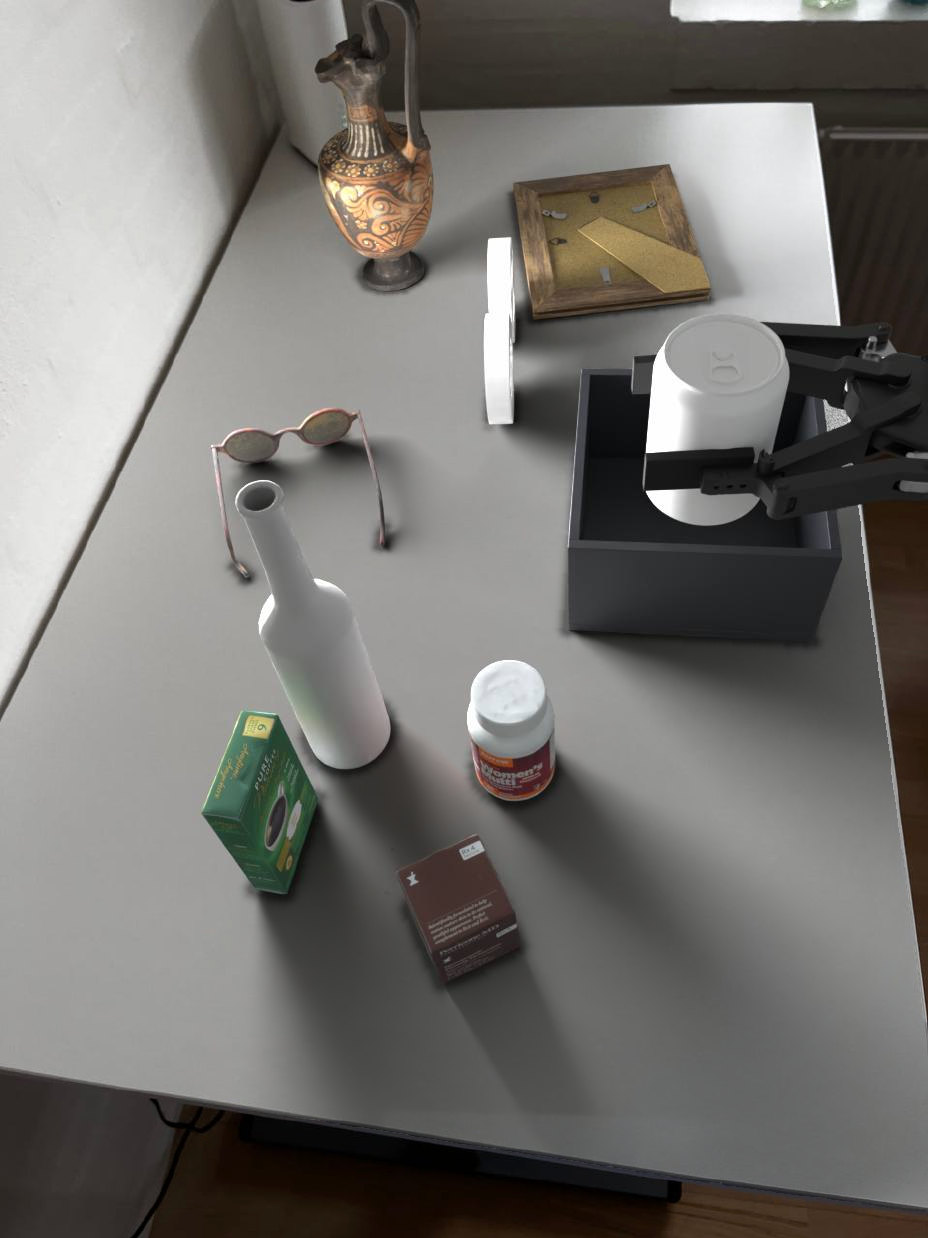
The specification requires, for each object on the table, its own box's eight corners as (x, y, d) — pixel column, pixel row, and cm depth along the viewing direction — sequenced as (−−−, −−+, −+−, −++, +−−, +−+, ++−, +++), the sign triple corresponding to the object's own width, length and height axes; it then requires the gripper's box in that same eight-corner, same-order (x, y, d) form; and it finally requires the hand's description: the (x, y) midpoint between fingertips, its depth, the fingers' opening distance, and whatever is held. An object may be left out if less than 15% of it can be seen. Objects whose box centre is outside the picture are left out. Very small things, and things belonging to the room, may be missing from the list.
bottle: (376, 684, 81) (298, 440, 58) (401, 751, 77) (329, 519, 54) (299, 712, 80) (190, 476, 57) (321, 781, 76) (213, 558, 53)
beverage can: (755, 443, 71) (785, 305, 61) (768, 531, 66) (802, 397, 56) (641, 445, 71) (652, 310, 62) (645, 532, 67) (658, 400, 57)
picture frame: (709, 301, 104) (668, 175, 117) (711, 286, 102) (669, 161, 116) (533, 321, 105) (513, 194, 118) (533, 307, 103) (512, 180, 117)
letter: (513, 445, 95) (507, 364, 86) (490, 446, 95) (482, 365, 87) (515, 299, 107) (510, 215, 99) (495, 300, 107) (489, 217, 99)
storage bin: (812, 642, 79) (842, 557, 70) (568, 630, 82) (567, 547, 73) (795, 463, 90) (820, 370, 81) (580, 458, 93) (581, 367, 84)
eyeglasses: (365, 432, 97) (356, 394, 93) (394, 544, 89) (386, 507, 85) (219, 467, 96) (204, 430, 92) (236, 583, 88) (219, 548, 84)
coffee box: (286, 788, 76) (239, 705, 65) (321, 795, 75) (280, 711, 65) (252, 889, 72) (195, 817, 61) (289, 896, 71) (238, 825, 60)
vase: (362, 238, 116) (306, -48, 91) (463, 247, 113) (433, -45, 88) (328, 301, 110) (258, 13, 85) (434, 313, 107) (393, 19, 82)
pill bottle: (479, 808, 74) (466, 737, 64) (472, 735, 77) (458, 658, 68) (561, 798, 74) (559, 726, 64) (550, 726, 77) (547, 648, 68)
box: (441, 986, 67) (428, 955, 61) (408, 907, 70) (392, 870, 64) (522, 947, 68) (517, 913, 62) (485, 870, 71) (477, 831, 65)
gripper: (1032, 570, 59) (649, 586, 61) (941, 338, 71) (623, 358, 73) (1086, 485, 53) (658, 506, 55) (976, 247, 65) (628, 271, 67)
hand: (638, 421), depth 64 cm, fingers closed on beverage can, 8 cm apart
